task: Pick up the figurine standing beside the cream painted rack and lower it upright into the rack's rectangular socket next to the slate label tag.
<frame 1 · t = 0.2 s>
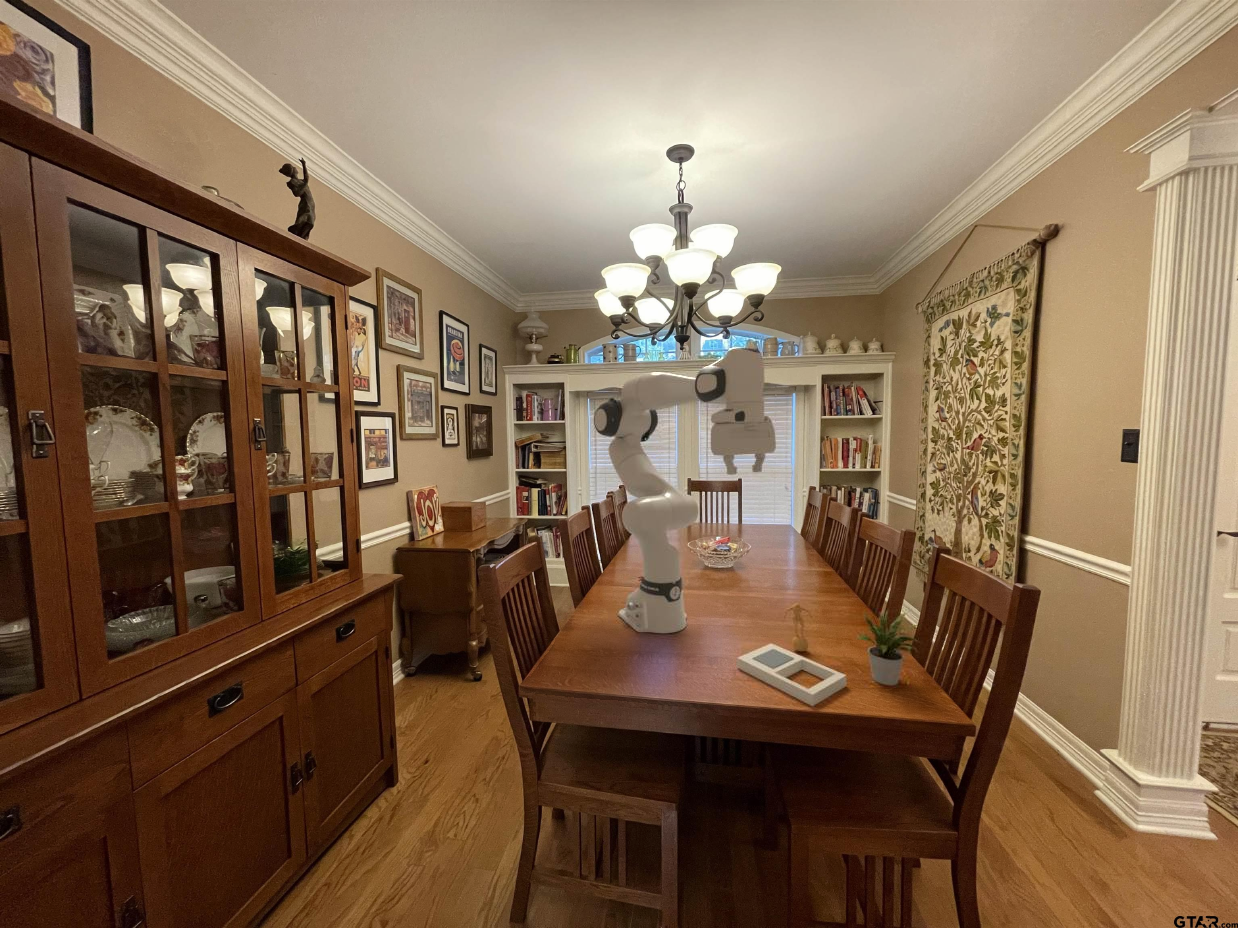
hand: (744, 473, 112), 47 cm above the table, tool pointing down, fingers open, 8 cm apart
figurine: (798, 649, 123), on the table
house plant: (879, 680, 107), on the table
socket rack: (789, 676, 109), on the table
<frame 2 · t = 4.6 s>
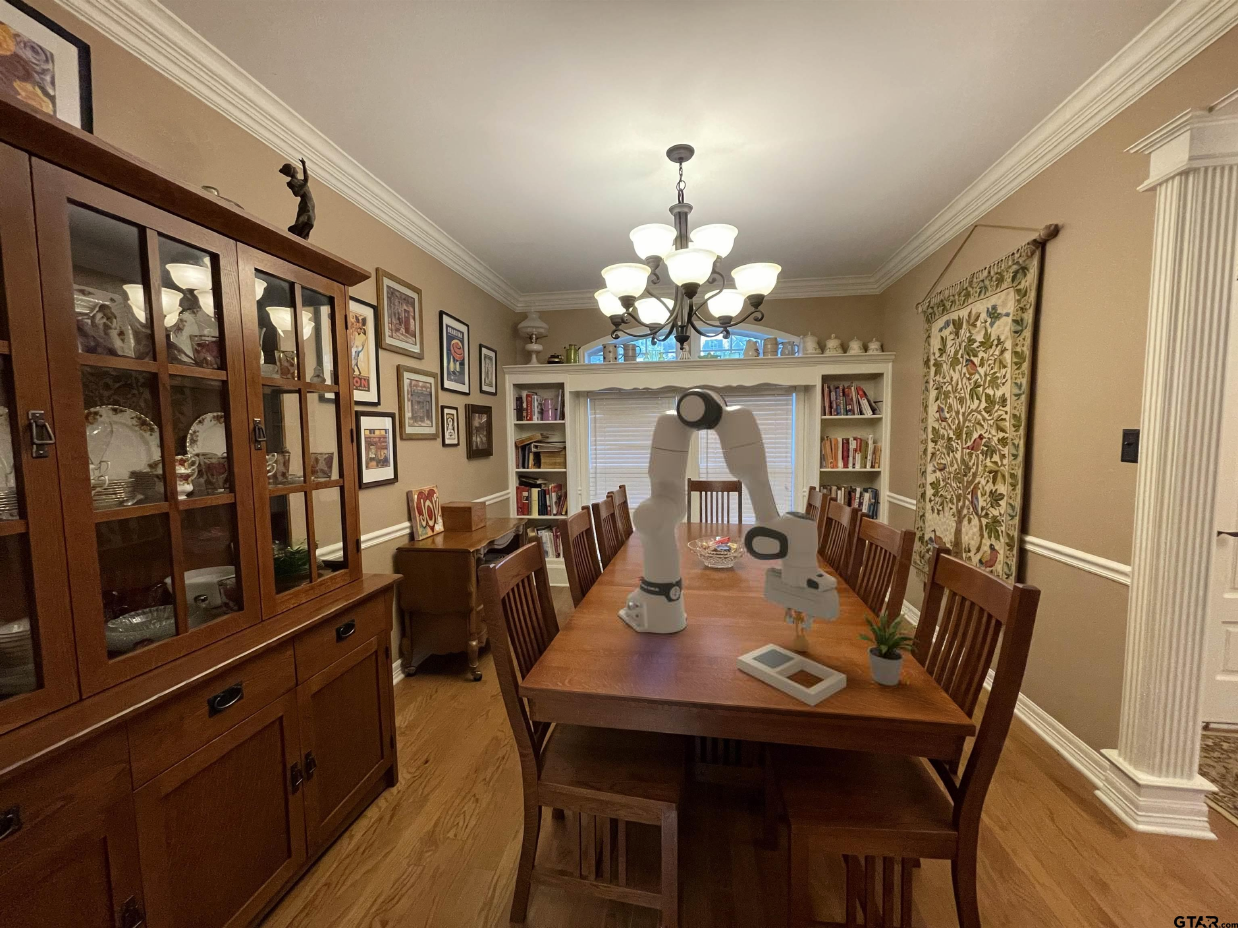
hand: (798, 626, 122), 6 cm above the table, tool pointing down, fingers closed on figurine, 3 cm apart
figurine: (798, 649, 123), on the table, touching gripper
everything else where it was.
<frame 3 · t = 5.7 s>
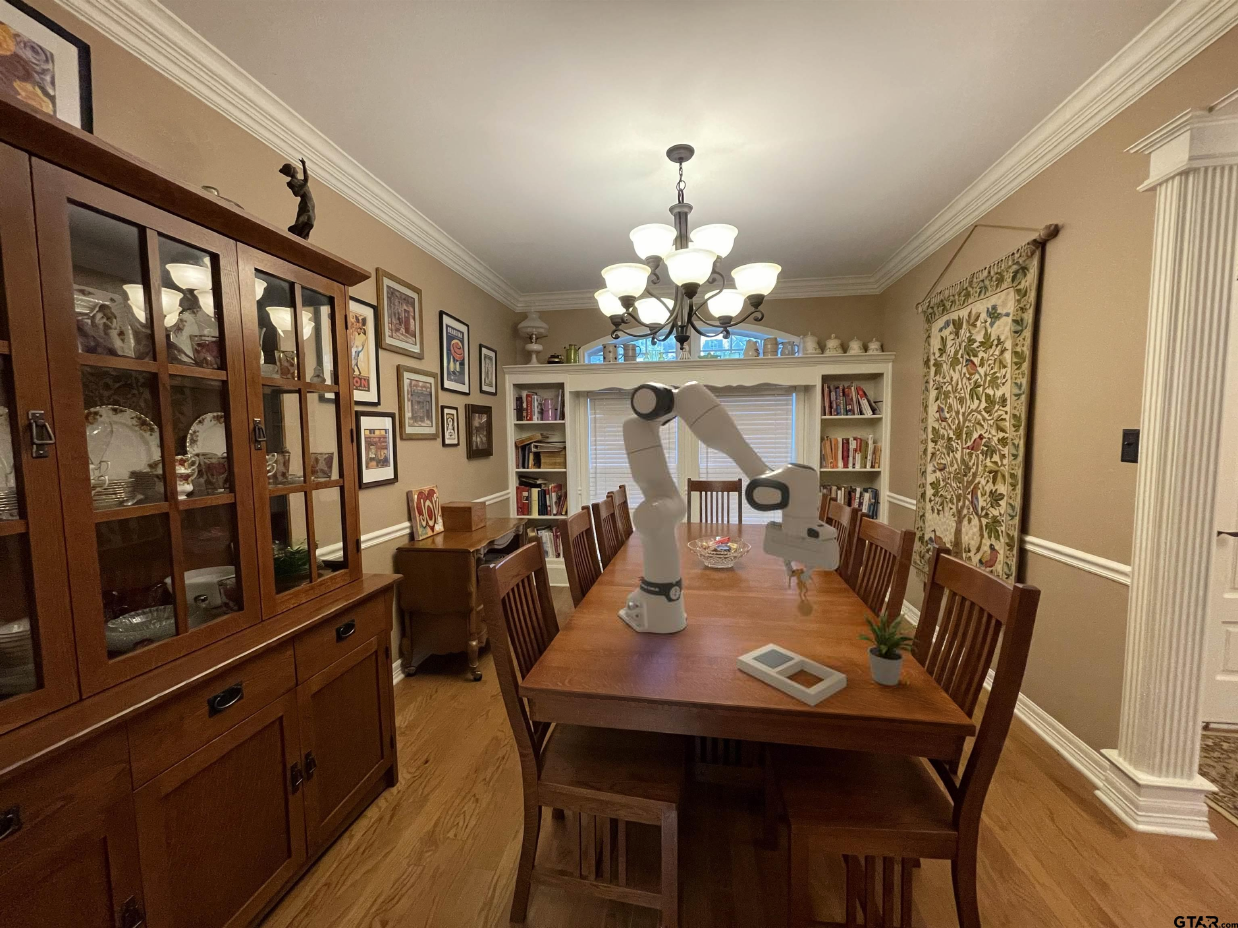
hand: (797, 578, 122), 19 cm above the table, tool pointing down, fingers closed on figurine, 3 cm apart
figurine: (802, 614, 122), point 10 cm above the table, touching gripper
everything else where it was.
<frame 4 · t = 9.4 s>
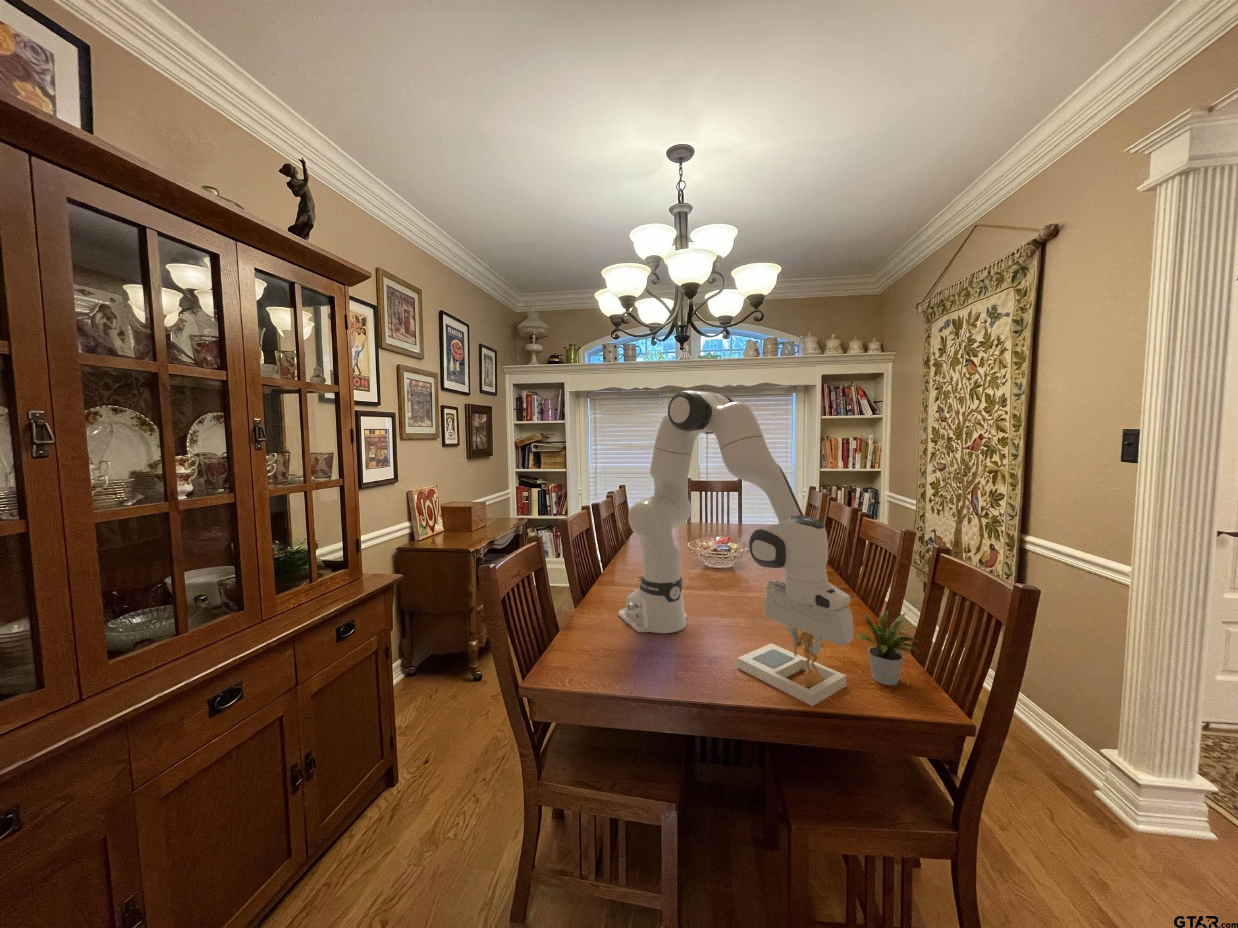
hand: (805, 649, 105), 8 cm above the table, tool pointing down, fingers closed on figurine, 3 cm apart
figurine: (809, 685, 105), on the table, touching gripper
everything else where it was.
when the fingers open (8 cm above the table, at t = 10.2 s): figurine stays where it is, on the table.
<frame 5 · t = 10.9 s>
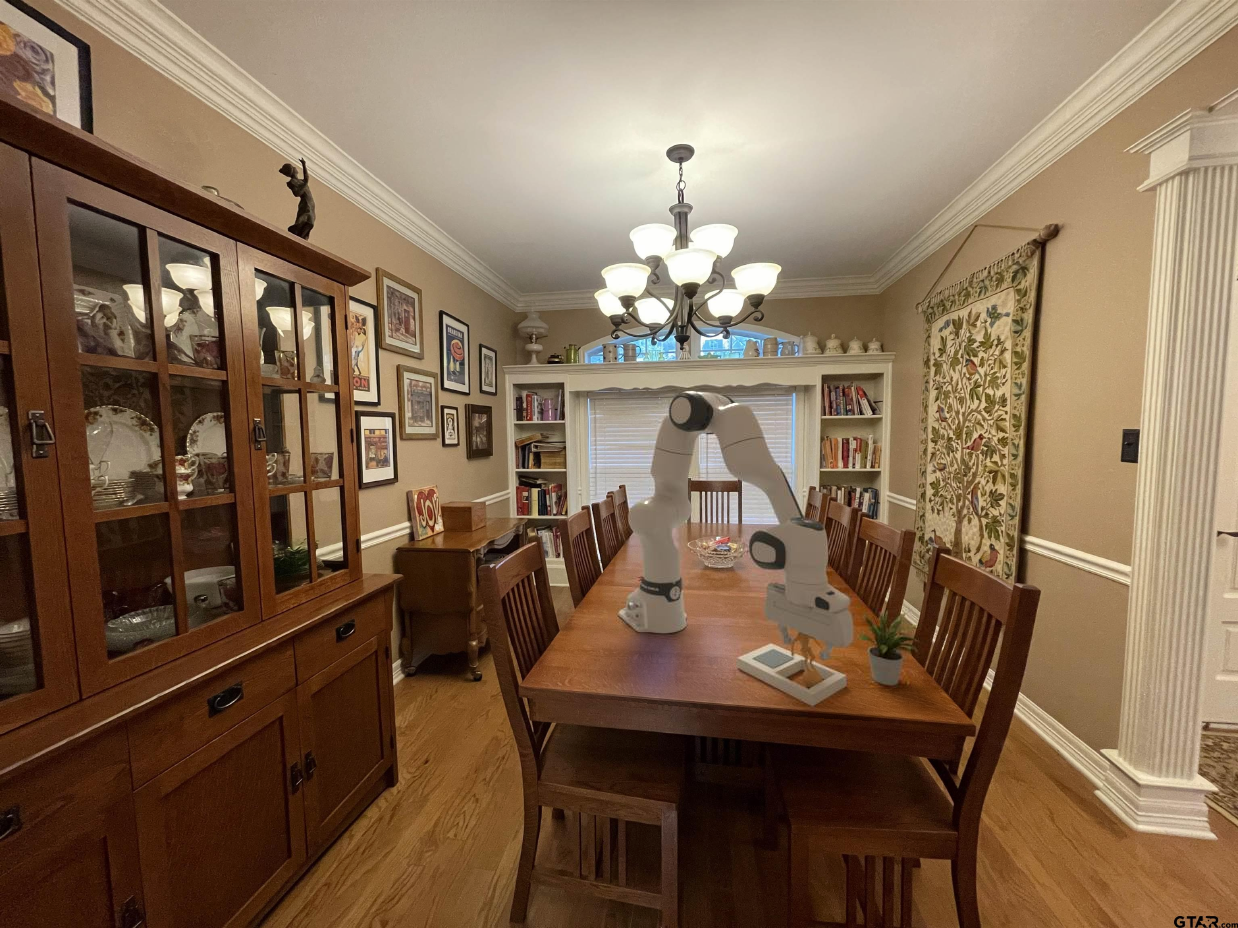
hand: (805, 651, 105), 8 cm above the table, tool pointing down, fingers open, 8 cm apart
figurine: (809, 685, 105), on the table
everything else where it was.
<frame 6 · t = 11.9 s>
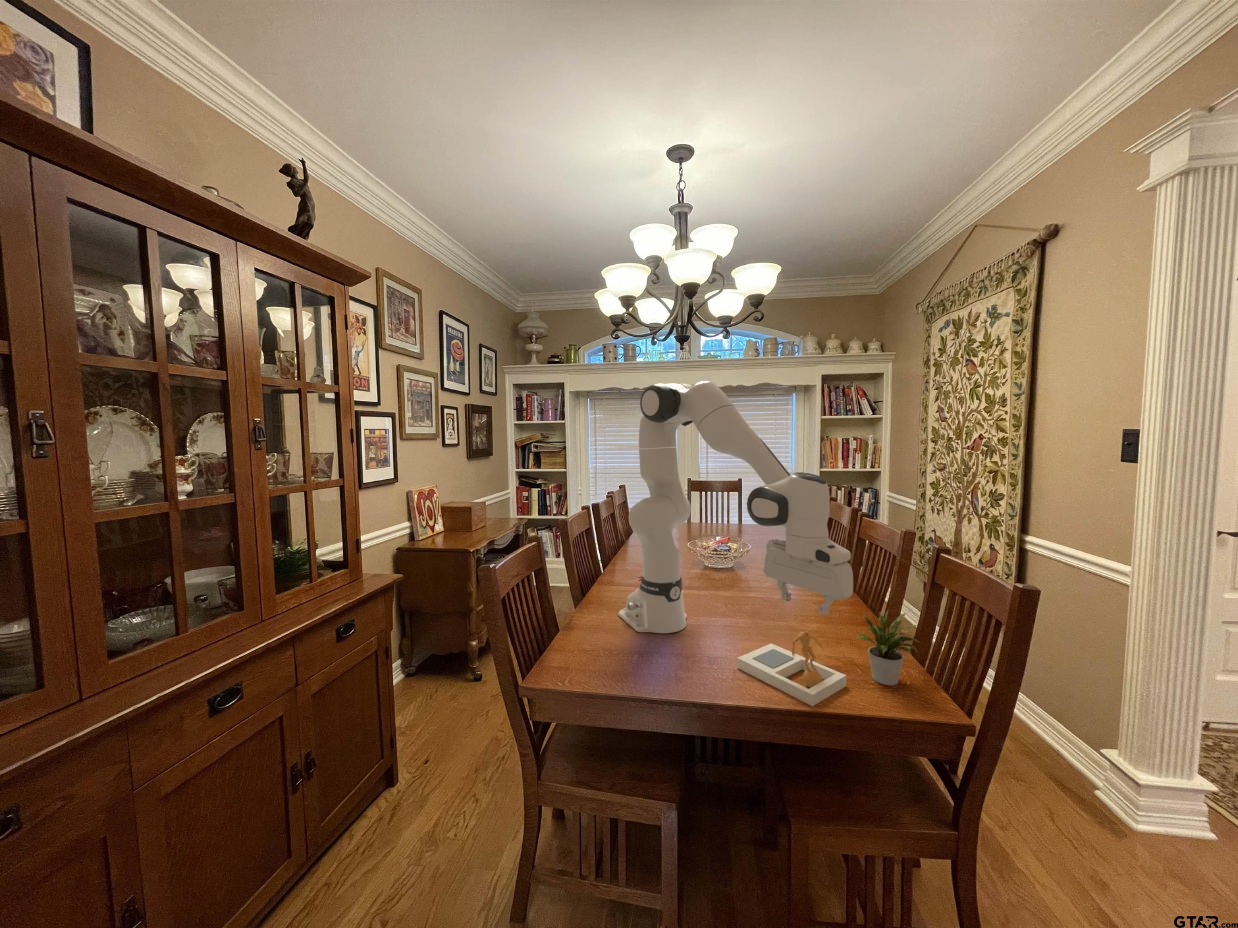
hand: (804, 606, 105), 18 cm above the table, tool pointing down, fingers open, 8 cm apart
nothing on the table moved.
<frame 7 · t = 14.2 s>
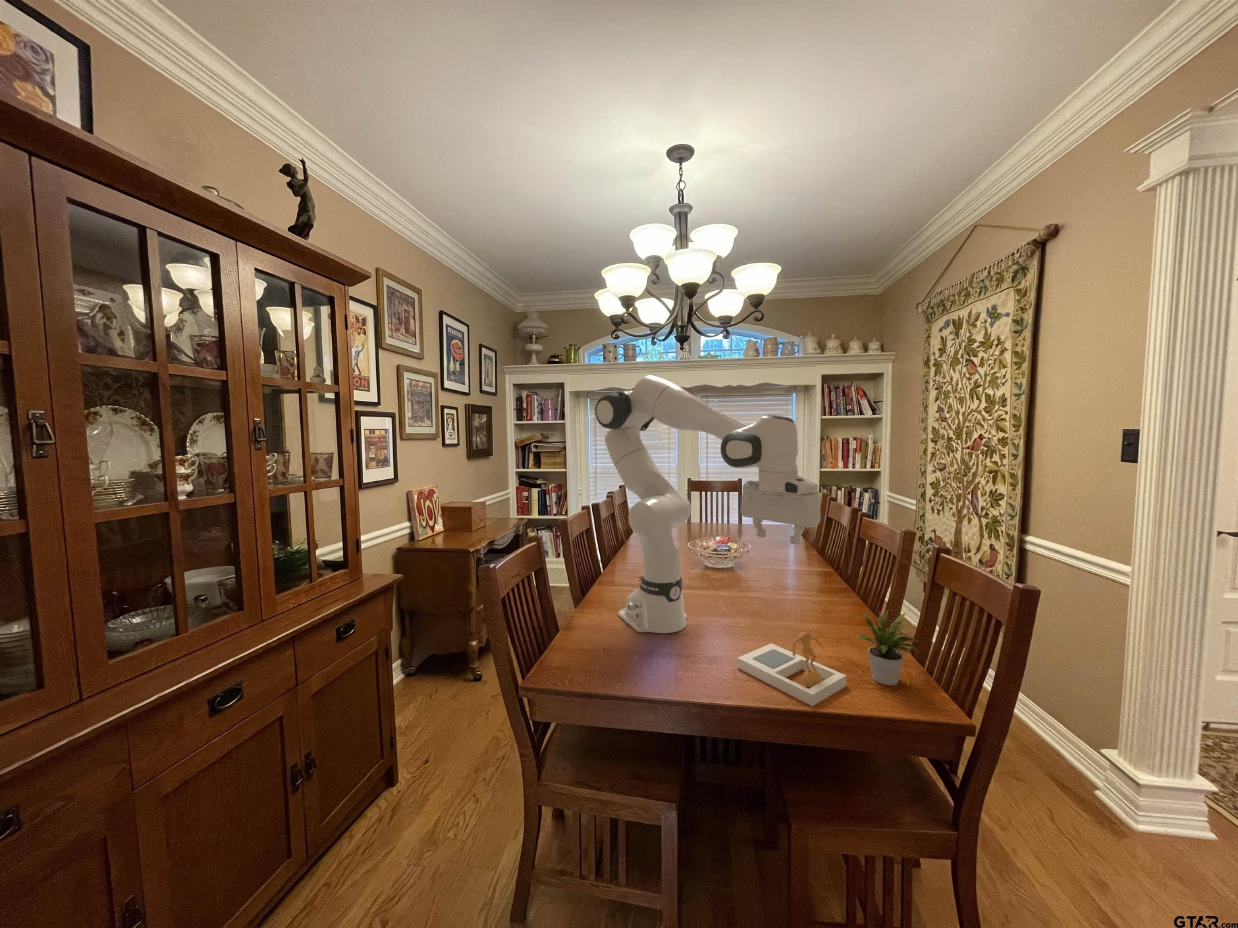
hand: (777, 540, 112), 31 cm above the table, tool pointing down, fingers open, 8 cm apart
nothing on the table moved.
at the end: figurine 1.0 cm from the target spot on the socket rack, point 0.0 cm above the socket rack's base; figurine tilted 0°; the gripper is holding nothing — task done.
